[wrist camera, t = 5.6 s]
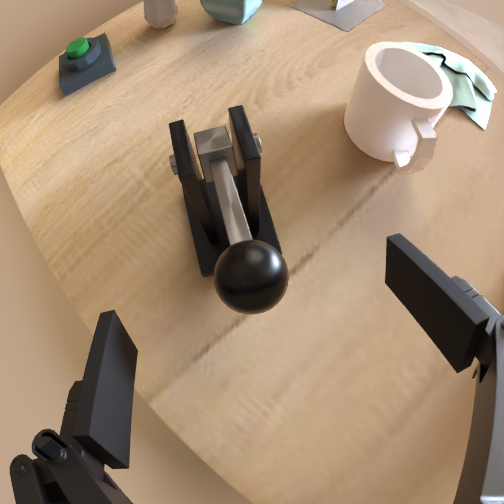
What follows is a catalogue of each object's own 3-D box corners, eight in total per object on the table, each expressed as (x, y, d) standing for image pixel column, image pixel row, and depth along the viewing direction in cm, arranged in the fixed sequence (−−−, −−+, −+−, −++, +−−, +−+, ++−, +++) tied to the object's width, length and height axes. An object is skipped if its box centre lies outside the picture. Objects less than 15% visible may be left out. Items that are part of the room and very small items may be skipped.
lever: (298, 314, 15) (299, 278, 12) (229, 333, 15) (213, 301, 12) (239, 155, 23) (232, 116, 20) (194, 167, 23) (182, 129, 20)
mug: (437, 183, 34) (482, 138, 24) (366, 191, 34) (401, 138, 24) (399, 98, 38) (426, 46, 27) (333, 99, 37) (350, 38, 27)
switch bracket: (281, 256, 32) (300, 192, 18) (203, 277, 32) (162, 228, 18) (254, 170, 35) (253, 73, 20) (183, 189, 34) (143, 101, 20)
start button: (90, 52, 37) (86, 44, 35) (70, 62, 37) (66, 55, 35) (89, 41, 38) (85, 34, 36) (69, 51, 38) (65, 45, 36)
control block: (116, 70, 40) (108, 52, 36) (65, 96, 39) (54, 80, 35) (108, 41, 42) (101, 25, 39) (63, 64, 42) (54, 49, 38)
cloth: (503, 93, 39) (509, 85, 37) (473, 151, 36) (481, 142, 33) (418, 26, 43) (422, 17, 41) (364, 63, 40) (367, 51, 37)
